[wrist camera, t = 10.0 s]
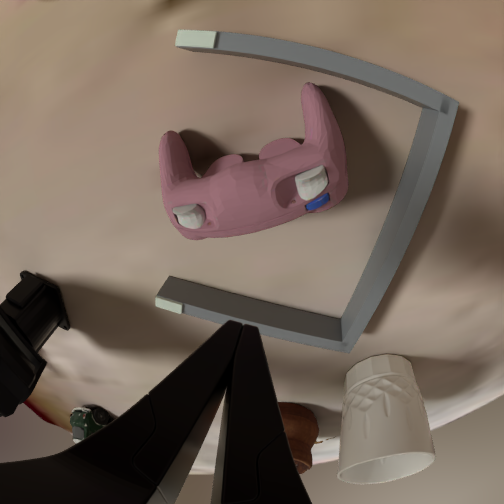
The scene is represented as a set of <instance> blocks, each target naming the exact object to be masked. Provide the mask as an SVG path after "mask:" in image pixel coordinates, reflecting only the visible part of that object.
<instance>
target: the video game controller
mask: <svg viewBox="0 0 504 504" xmlns="http://www.w3.org/2000/svg"><path fill="white" fill-rule="evenodd" d="M301 103H302V109H303V115H304V121H305V140H304V143H303V144H302V145H300V144H299V143H298V142H296V141H295V140H293V139H291V138H281V139H278V140H275V141H272V142H270V143H269V144H267V145H266V146H264V147H263V148H262V149H261V151H260V153H259V159H260V160H253V161H247V162H244V160H243V158H242V157H241V156H240V155H235V154H231V155H226V156H223V157H221V158H219V159H217V160H216V161H215V162H213V163H212V164H211V166H210V167H209V168H208V170H207V171H206V173H205V174H204V175H203V177H202V178H198V177H197V176H196V174H195V172H194V171H193V167H192V164H191V160H190V156H189V153H188V150H187V148H186V145H185V143H184V141H183V140H182V139H181V137H180V135H179V134H178V133H176V132H174V131H168V132H166V133H165V134H164V135H163V136H162V139H161V141H160V145H159V164H160V175H161V187H162V197H163V202H164V207H165V209H166V212H167V214H168V216H169V218H170V221H171V222H172V224H173V225H174V226H175V227H176V229H177V230H178V231H179V232H180V233H181V234H182V235H183V236H184V237H186V238H188V239H191V240H202V239H205V238H207V237H209V238H219V237H231V236H238V235H244V234H249V233H254V232H258V231H261V230H265V229H268V228H272V227H275V226H278V225H280V224H283V223H286V222H289V221H291V220H294V219H296V218H298V217H300V216H302V215H304V214H306V213H316V212H322V211H325V210H328V209H330V208H332V207H333V206H335V205H337V204H338V203H339V202H340V201H341V200H342V199H343V198H344V197H345V195H346V193H347V191H348V185H349V184H348V175H347V160H346V150H345V145H344V140H343V137H342V134H341V130H340V128H339V126H338V123H337V121H336V119H335V116H334V114H333V112H332V110H331V108H330V105H329V103H328V101H327V99H326V97H325V95H324V94H323V92H322V91H321V90H320V89H319V87H318V86H316V85H315V84H313V83H310V82H308V83H306V84H305V85H304V86H303V89H302V94H301Z"/></svg>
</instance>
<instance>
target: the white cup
mask: <svg viewBox="0 0 504 504" xmlns="http://www.w3.org/2000/svg"><path fill="white" fill-rule="evenodd" d="M435 459H436V456H435V450H434V445H433V440H432V435H431V431H430V426H429V422H428V417H427V413H426V410H425V407H424V402H423V398H422V395H421V393H420V388H419V387H418V385H417V382H416V380H415V376H414V372H413V369H412V365H411V362H410V361H408V360H407V359H405V358H404V357H402V356H398V355H391V354H385V355H379V356H373V357H370V358H367V359H365V360H363V361H361V362H359V363H357V364H356V365H354V366H353V367H352V368H351V369H350V370H349V371H348V372H347V374H346V378H345V381H344V401H343V407H342V422H341V434H340V449H339V462H338V473H337V477H338V479H340V480H341V481H343V482H347V483H353V484H375V483H383V482H388V481H393V480H397V479H401V478H404V477H407V476H410V475H413V474H415V473H417V472H420V471H421V470H423V469H425V468H426V467H428V466H429V465H431V464H432V463H433V462H434V461H435Z"/></svg>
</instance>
